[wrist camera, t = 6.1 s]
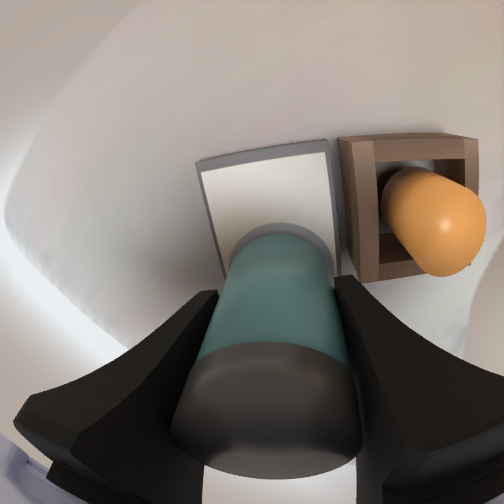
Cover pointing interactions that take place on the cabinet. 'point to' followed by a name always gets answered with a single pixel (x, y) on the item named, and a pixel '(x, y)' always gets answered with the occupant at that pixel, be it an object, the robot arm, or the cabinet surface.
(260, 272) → the cylinder
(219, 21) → the cabinet surface
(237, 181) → the drawing pad
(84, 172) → the cabinet surface
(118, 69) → the cabinet surface
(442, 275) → the button
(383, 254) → the button collar
